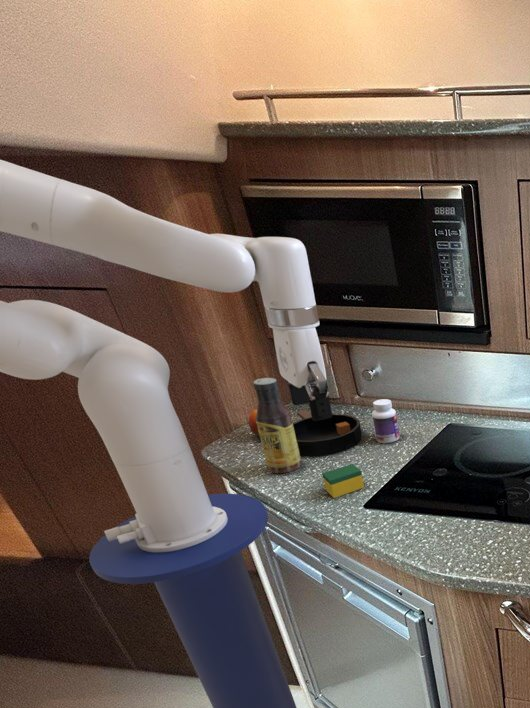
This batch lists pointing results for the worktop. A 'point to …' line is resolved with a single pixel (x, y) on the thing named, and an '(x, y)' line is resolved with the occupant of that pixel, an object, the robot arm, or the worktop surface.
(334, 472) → the sponge
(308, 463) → the worktop surface
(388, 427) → the pill bottle
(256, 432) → the fruit
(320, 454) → the pan
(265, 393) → the sauce bottle
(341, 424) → the block
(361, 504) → the worktop surface
